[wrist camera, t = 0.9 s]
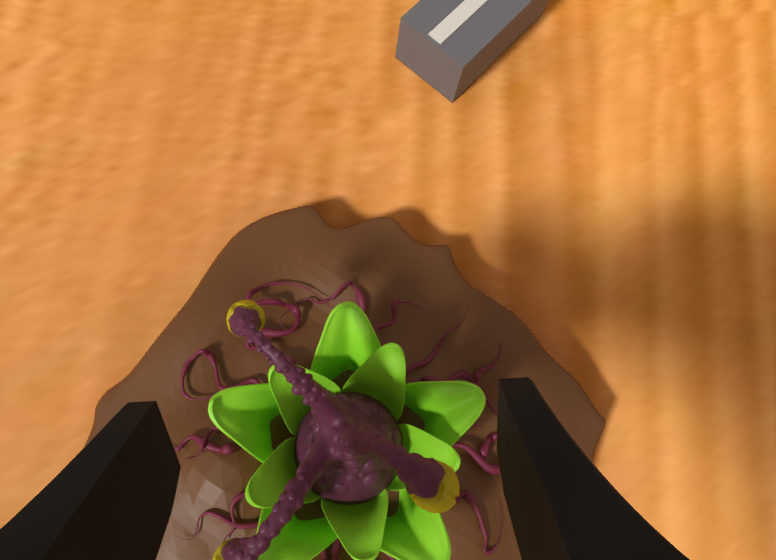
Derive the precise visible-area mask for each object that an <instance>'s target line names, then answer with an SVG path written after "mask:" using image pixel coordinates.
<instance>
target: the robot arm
mask: <svg viewBox="0 0 776 560" xmlns="http://www.w3.org/2000/svg"><path fill="white" fill-rule="evenodd" d="M497 454H498V460H499V467H500V473H501V479H502V485H503V491H504V496H505V500H506V504H507V507H508V511H509V515H510V518H511V522H512V526H513V529H514V533H515V537H516V540H517V544H518V548H519V551H520V555H521V559H522V560H689V559H688V558H687V557H686V556H684V555H683V554H682V553H681V552H680V551H679V550H677V549H676V548H675V547H674V546H673V545H672V544H671V543H670V542H669V541H667V540H666V539H665V538H664V537H663V536H662V535H661V534H660V533H659V532H658V531H657V530H655V529H654V528H653V527H652V526H651V525H650V524H649V523H648V522H647V521H646V520H645V519H644V518H643V517H642V516H641V515H640V514H639V513H638V512H637V511H636V510H635V509H634V508H633V507H632V506H631V505H630V504H629V503H628V502H627V501H626V500H625V499H624V498H623V497H622V496H621V495H620V494H619V492H618V491H617V490H616V489H615V488H614V487H613V486H612V485H611V484H610V483H609V481H608V480H607V479H606V478H605V477H604V476H603V475H602V474H601V473H600V471H599V470H598V469H597V468H596V467H595V465H594V464H593V463H592V462H591V461H590V460H589V458H588V457H587V456H586V455H585V453H584V452H583V451H582V450H581V448H580V447H579V446H578V445H577V443H576V442H575V441H574V440H573V438H572V437H571V436H570V434H569V433H568V432H567V431H566V429H565V428H564V427H563V425H562V424H561V422H560V421H559V420H558V418H557V417H556V415H555V414H554V413H553V411H552V410H551V408H550V407H549V405H548V404H547V402H546V401H545V399H544V398H543V396H542V395H541V393H540V392H539V390H538V389H537V387H536V385H535V384H534V382H533V381H532V380H531V379H530V378H529V377H519V378H504V379H498V413H497ZM180 469H181V466H180V463H179V460H178V458H177V455H176V452H175V450H174V447H173V444H172V442H171V439H170V436H169V434H168V431H167V428H166V426H165V423H164V420H163V418H162V415H161V412H160V410H159V407H158V405H157V402H156V401H143V402H128V403H127V404H126V405H125V406H124V407H123V408H122V409H121V410H120V411H119V412H118V413H117V414H116V415H115V416H114V417H113V418H112V419H111V420H110V421H109V422H108V423H107V424H106V425H105V426H104V428H103V429H102V430H101V431H100V432H99V433H98V434H97V435H96V436H95V437H94V438H93V439H92V440H91V441H90V442H89V443H88V444H87V445H86V446H85V448H84V449H83V450H82V451H81V452H80V453H79V454H78V455H77V456H76V457H75V458H74V459H73V460H72V461H71V462H70V463H69V464H68V465H67V466H66V467H65V468H64V469H63V470H62V471H61V472H60V473H59V474H58V475H57V476H56V477H55V478H54V479H53V480H52V481H51V482H50V483H49V484H48V485H47V486H46V487H45V488H44V489H43V490H42V491H41V492H40V493H39V494H38V495H37V496H35V497H34V498H33V499H32V500H31V501H30V502H29V503H28V504H27V505H26V506H25V507H24V508H23V509H22V510H21V511H20V512H19V513H18V514H16V515H15V516H14V517H13V518H12V519H11V520H10V521H9V522H8V523H7V524H6V525H5V526H3V527H2V528H1V529H0V560H156V557H157V554H158V551H159V549H160V546H161V543H162V540H163V537H164V534H165V531H166V528H167V525H168V522H169V519H170V516H171V513H172V508H173V504H174V499H175V495H176V490H177V485H178V479H179V474H180Z"/></svg>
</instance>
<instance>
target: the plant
mask: <svg viewBox="0 0 776 560" xmlns="http://www.w3.org/2000/svg"><path fill="white" fill-rule="evenodd" d="M519 377H529V378H530V379H531V380H532V381H533V382H534V384H535V385H536V387H537V389H538V390H539V392H540V393H541V395H542V396H543V398H544V399H545V401H546V402H547V404H548V405H549V407H550V408H551V410H552V411H553V413H554V414H555V415H556V417H557V418H558V420H559V421H560V422H561V424H562V425H563V427H564V428H565V429H566V431H567V432H568V433H569V434H570V436H571V437H572V438H573V440H574V441H575V442H576V443H577V445H578V446H579V447H580V448H581V450H582V451H583V452H584V453H585V455H586V456H587V457H588V458H589V460H590V461H592V458H593V454H594V451H595V447H596V445H597V443H598V440H599V438H600V436H601V434H602V431H603V429H604V427H605V420H604V419H603V417H602V416H601V415H600V413H599V412H598V411H597V409H596V408H595V407H594V405H593V404H592V402H591V401H590V399H589V398H588V396H587V394H586V393H585V391H584V390H583V388H582V386H581V385H580V384H579V383H578V382H577V381H576V379H575V378H574V377H573V376H572V375H571V374H569V373H568V372H567V371H566V370H565V369H564V368H562V367H561V366H560V365H559V364H558V363H557V362H556V361H555V360H554V359H553V358H552V357H551V356H550V355H549V354H548V353H547V352H546V351H545V350H544V349H543V347H542V346H541V345H540V343H539V342H538V341H537V339H536V338H535V336H534V335H533V333H532V332H531V330H530V329H529V328H528V327H527V325H526V324H525V323H524V322H523V321H522V320H521V319H520V318H518V317H517V316H516V315H515V314H514V313H512V312H511V311H509V310H508V309H507V308H505V307H504V306H502V305H500V304H499V303H497V302H496V301H495V300H493V299H492V298H490V297H488V296H487V295H485V294H484V293H482V292H480V291H479V290H477V289H475V288H474V287H472V286H471V285H469V284H468V283H467V281H466V280H465V279H464V278H463V277H462V276H461V274H460V273H459V271H458V269H457V267H456V265H455V263H454V261H453V257H452V254H451V251H450V248H449V247H448V246H447V245H437V246H432V245H424V244H421V243H419V242H417V241H416V240H414V239H413V238H412V237H410V236H409V235H408V233H407V232H406V231H405V230H404V229H403V228H402V227H401V226H400V225H399V223H398V222H396V221H395V220H393V219H391V218H388V217H380V218H374V219H371V220H369V221H365V222H362V223H360V224H357V225H354V226H351V227H346V228H337V229H336V228H333V227H331V226H329V225H328V224H327V223H326V222H325V220H324V219H323V217H322V216H321V215H320V213H319V212H318V211H317V210H316V209H315V208H314V207H312V206H303V207H298V208H294V209H289V210H285V211H281V212H278V213H275V214H272V215H269V216H266V217H264V218H261V219H259V220H257V221H255V222H253V223H252V224H250V225H248V226H246V227H245V228H244V229H242V230H241V231H239V232H238V233H237V234H236V235H235V236H234V237H233V238H232V239H231V240H230V241H229V242H228V244H227V245H226V246H225V247H224V249H223V250H222V251H221V252H220V253H219V255H218V256H217V258H216V259H215V261H214V262H213V263H212V265H211V266H210V268H209V269H208V271H207V272H206V274H205V275H204V277H203V278H202V280H201V281H200V283H199V285H198V286H197V288H196V289H195V291H194V292H193V294H192V295H191V297H190V298H189V300H188V301H187V302H186V304H185V305H184V306H183V307H182V309H181V310H180V311H179V312H178V314H177V315H176V316H175V317H174V318H173V320H172V321H171V322H170V323H169V324H168V326H167V327H166V328H165V329H164V330H163V332H162V333H161V334H160V335H159V337H158V338H157V339H156V340H155V342H154V343H153V344H152V346H151V347H150V348H149V350H148V351H147V352H146V354H145V355H144V356H143V358H142V359H141V360H140V362H139V363H138V364H137V365H136V366H135V368H134V369H133V370H132V371H131V372H130V374H129V375H128V376H127V377H125V378H124V379H123V380H122V381H121V382H119V383H118V384H116V385H115V386H113V387H112V388H111V389H109V390H108V391H107V392H106V393H105V394H104V395H103V396H102V397H101V399H100V400H99V402H98V404H97V406H96V409H95V418H94V423H93V427H92V430H91V433H90V435H89V438H88V440H87V442H86V444H85V446H86V445H87V444H88V443H89V442H90V441H91V440H92V439H93V438H94V437H95V436H96V435H97V434H98V433H99V432H100V431H101V430H102V429H103V428H104V426H105V425H106V424H107V423H108V422H109V421H110V420H111V419H112V418H113V417H114V416H115V415H116V414H117V413H118V412H119V411H120V410H121V409H122V408H123V407H124V406H125V405H126V404H127V403H128V402H143V401H156V402H157V405H158V407H159V410H160V412H161V415H162V418H163V420H164V423H165V426H166V428H167V431H168V434H169V436H170V439H171V442H172V444H173V447H174V450H175V452H176V455H177V458H178V460H179V463H180V466H181V469H180V474H179V479H178V485H177V490H176V495H175V499H174V504H173V508H172V513H171V516H170V519H169V522H168V525H167V528H166V531H165V534H164V537H163V540H162V543H161V546H160V549H159V551H158V554H157V557H156V560H522V559H521V555H520V551H519V548H518V544H517V540H516V537H515V533H514V529H513V526H512V522H511V518H510V515H509V511H508V507H507V504H506V500H505V496H504V491H503V485H502V479H501V473H500V467H499V460H498V454H497V413H498V379H504V378H519ZM84 448H85V447H84Z"/></svg>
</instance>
